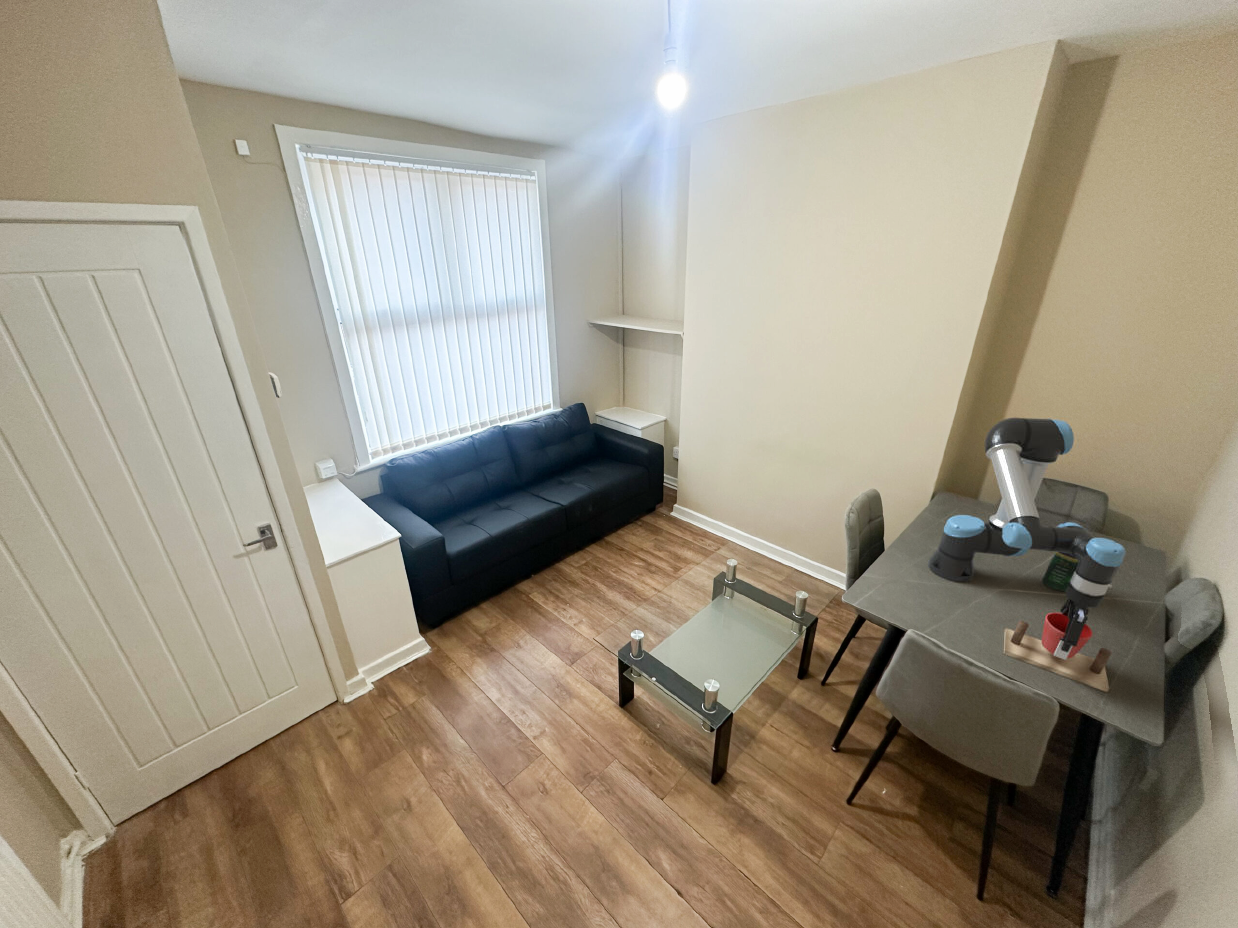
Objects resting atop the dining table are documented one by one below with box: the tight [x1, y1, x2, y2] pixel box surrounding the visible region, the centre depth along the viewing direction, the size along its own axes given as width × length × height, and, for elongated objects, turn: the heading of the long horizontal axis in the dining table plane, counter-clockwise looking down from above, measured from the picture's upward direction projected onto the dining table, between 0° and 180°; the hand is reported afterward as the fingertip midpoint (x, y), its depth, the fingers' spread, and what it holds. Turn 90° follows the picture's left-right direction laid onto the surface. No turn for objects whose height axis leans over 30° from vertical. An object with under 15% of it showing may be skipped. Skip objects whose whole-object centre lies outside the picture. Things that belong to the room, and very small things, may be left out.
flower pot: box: [1041, 612, 1094, 658], centre depth 143 cm, size 11×11×10 cm
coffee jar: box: [1041, 552, 1079, 592], centre depth 175 cm, size 10×8×19 cm
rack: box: [1003, 620, 1113, 693], centre depth 145 cm, size 24×12×10 cm, turn 52°
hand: (1058, 645), depth 145 cm, fingers closed on flower pot, 10 cm apart
